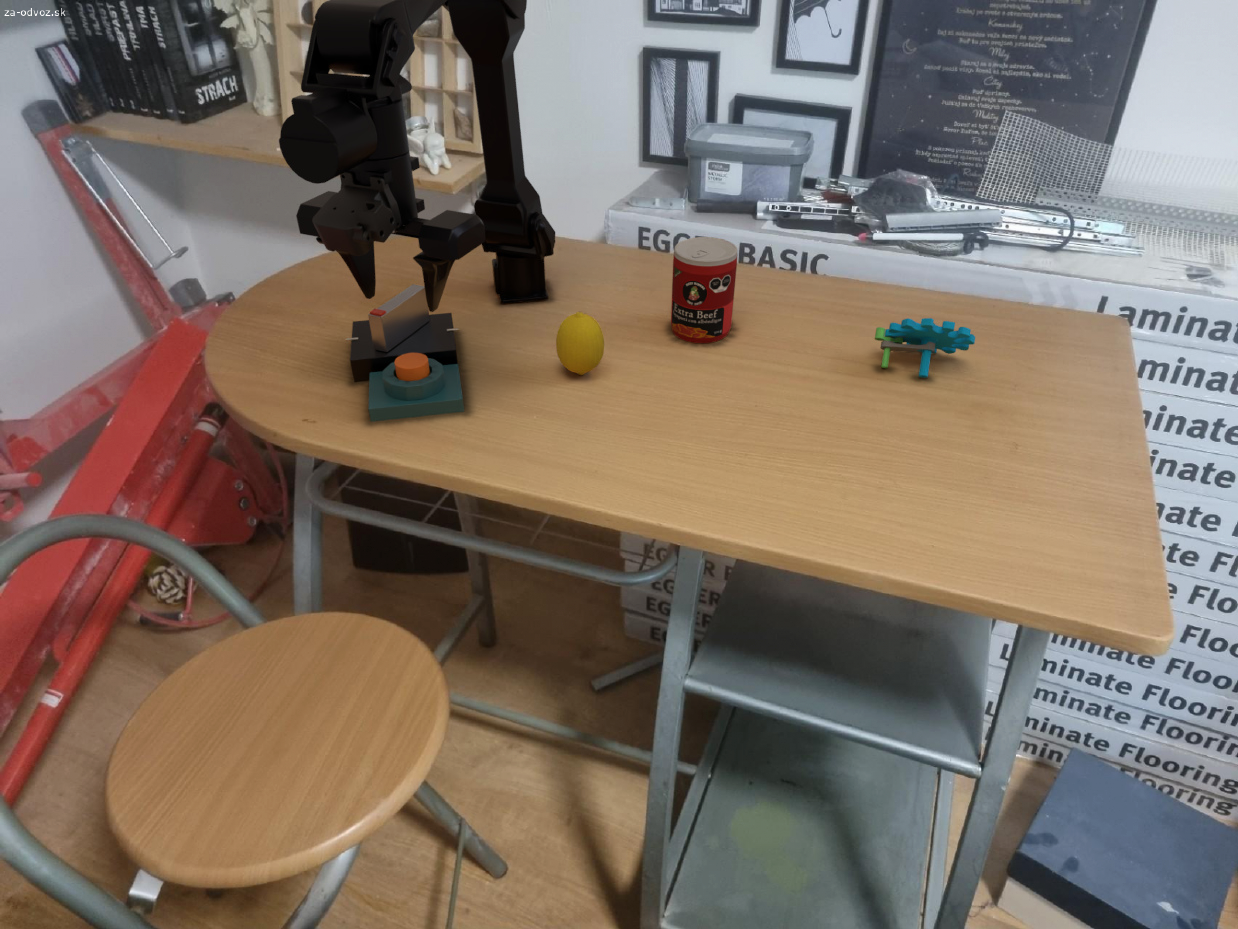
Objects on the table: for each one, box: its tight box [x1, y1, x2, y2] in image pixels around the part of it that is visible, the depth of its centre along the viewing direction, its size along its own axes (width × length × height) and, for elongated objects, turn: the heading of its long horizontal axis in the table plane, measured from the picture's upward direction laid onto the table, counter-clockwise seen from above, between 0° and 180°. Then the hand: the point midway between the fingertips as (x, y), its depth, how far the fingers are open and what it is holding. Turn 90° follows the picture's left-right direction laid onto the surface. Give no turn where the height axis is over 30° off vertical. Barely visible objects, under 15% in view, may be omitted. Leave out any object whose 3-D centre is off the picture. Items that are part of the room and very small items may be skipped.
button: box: [394, 353, 430, 381], centre depth 96 cm, size 4×4×2 cm
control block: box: [367, 358, 465, 423], centre depth 97 cm, size 10×8×4 cm
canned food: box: [670, 236, 739, 344], centre depth 109 cm, size 8×8×11 cm
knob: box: [367, 283, 430, 352], centre depth 103 cm, size 9×2×5 cm, turn 157°
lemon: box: [555, 311, 605, 376], centre depth 100 cm, size 6×6×8 cm
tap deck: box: [345, 312, 460, 383], centre depth 105 cm, size 13×13×3 cm
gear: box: [874, 317, 976, 379], centre depth 102 cm, size 11×6×10 cm
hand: (401, 303), depth 91 cm, fingers open, 7 cm apart
